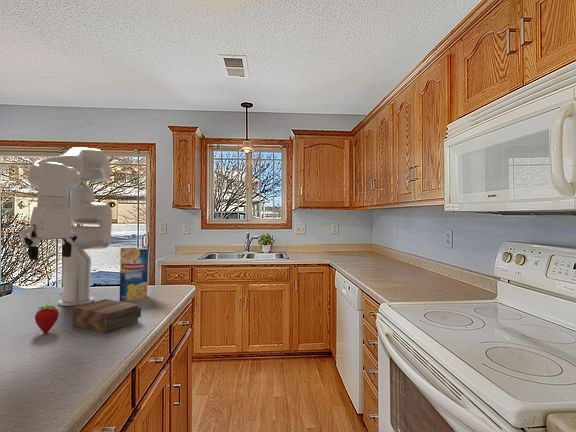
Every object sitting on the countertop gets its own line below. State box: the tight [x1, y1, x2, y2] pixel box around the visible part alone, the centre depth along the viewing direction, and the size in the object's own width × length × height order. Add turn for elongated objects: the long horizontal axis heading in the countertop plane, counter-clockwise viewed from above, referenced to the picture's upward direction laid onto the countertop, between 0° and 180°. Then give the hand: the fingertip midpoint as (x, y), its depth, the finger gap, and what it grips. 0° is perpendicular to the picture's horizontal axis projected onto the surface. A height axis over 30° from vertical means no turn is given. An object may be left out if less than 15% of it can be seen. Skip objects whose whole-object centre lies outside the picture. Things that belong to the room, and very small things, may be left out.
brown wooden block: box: [72, 298, 142, 334], centre depth 110 cm, size 17×12×6 cm
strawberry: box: [34, 300, 60, 334], centre depth 100 cm, size 6×8×10 cm
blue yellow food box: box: [118, 247, 149, 302], centre depth 144 cm, size 7×11×22 cm, turn 117°
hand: (50, 258), depth 100 cm, fingers open, 9 cm apart
